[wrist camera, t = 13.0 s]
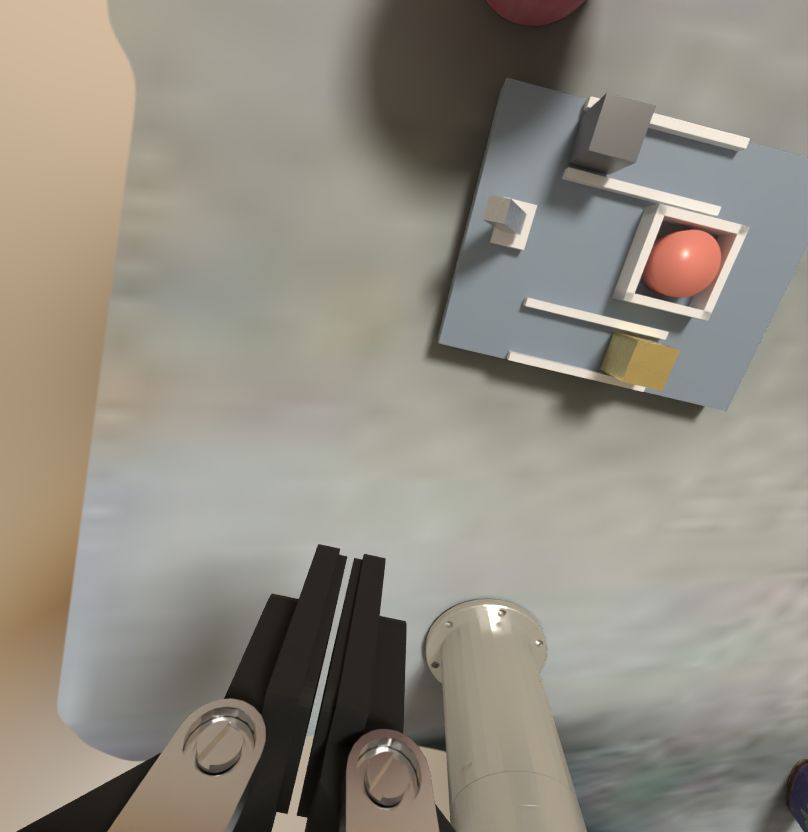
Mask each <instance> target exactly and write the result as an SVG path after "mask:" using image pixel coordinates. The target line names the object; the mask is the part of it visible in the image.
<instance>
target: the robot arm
mask: <svg viewBox="0 0 808 832" xmlns="http://www.w3.org/2000/svg"><path fill="white" fill-rule="evenodd" d="M339 553H340V549H339V548H334V547H330V546H325V545H320V544H318V547H317V549H316V552H315V555H314V558H313V561H312V563H311V566H310V569H309V572H308V575H307V578H306V580H305V583H304V586H303V589H302V592H301V594H300V597H299V599H295V598H290V597H286V596H281V595H276V594H271V596H270V597H269V599H268V601H267V603H266V606H265V608H264V610H263V612H262V615H261V617H260V619H259V621H258V624H257V626H256V628H255V630H254V633H253V635H252V637H251V639H250V642H249V644H248V646H247V648H246V651H245V653H244V655H243V657H242V660H241V662H240V664H239V666H238V669H237V671H236V673H235V676H234V678H233V680H232V682H231V685H230V687H229V689H228V691H227V694H226V696H225V698H224V699H221V700H215V701H213V702H210V703H207V704H205V705H203V706H201V707H200V708H198V709H197V710H195V711H194V712H192V713H191V714H190V715H189V716H188V717H187V719H186V720H185V721H184V722H183V723H182V724H181V725H180V727H179V728H178V730H177V731H176V733H175V734H174V736H173V737H172V738H171V740H170V741H169V743H168V744H167V746H166V747H165V749H164V750H163V752H161V753H160V754H158V755H156V756H154V757H152V758H151V759H149V760H147V761H145V762H143V763H141V764H140V765H138V766H136V767H134V768H132V769H131V770H129V771H127V772H125V773H123V774H121V775H120V776H118V777H116V778H114V779H112V780H110V781H109V782H107V783H105V784H103V785H101V786H99V787H97V788H96V789H94V790H92V791H90V792H88V793H87V794H85V795H83V796H81V797H79V798H77V799H75V800H74V801H72V802H70V803H68V804H66V805H64V806H63V807H61V808H59V809H57V810H55V811H53V812H52V813H50V814H48V815H46V816H44V817H43V818H41V819H39V820H37V821H35V822H33V823H31V824H30V825H28V826H26V827H24V828H22V829H20V830H19V831H17V832H271V831H272V827H273V823H274V820H275V816H276V812H280V813H285V814H287V813H288V809H289V805H290V801H291V797H292V793H293V788H294V784H295V780H296V776H297V771H298V767H299V763H300V759H301V755H302V750H303V746H304V742H305V738H306V734H307V729H308V725H309V721H310V717H311V712H312V708H313V704H314V700H315V696H316V691H317V687H318V683H319V679H320V674H321V670H322V666H323V662H324V658H325V653H326V649H327V645H328V640H329V636H330V631H331V627H332V622H333V618H334V614H335V609H336V605H337V600H338V596H339V591H340V587H341V582H342V578H343V574H344V569H345V565H346V560H347V556H342V555H339ZM385 560H386V559H385V558H381V557H377V556H372V555H367V554H364V556H363V560H361V559H356V558H354V561H353V566H352V570H351V574H350V578H349V583H348V587H347V591H346V596H345V600H344V604H343V609H342V613H341V617H340V622H339V626H338V630H337V635H336V639H335V643H334V648H333V652H332V657H331V661H330V666H329V670H328V675H327V680H326V684H325V689H324V693H323V698H322V702H321V707H320V711H319V716H318V721H317V725H316V730H315V734H314V739H313V744H312V748H311V752H310V757H309V762H308V766H307V771H306V775H305V780H304V785H303V789H302V794H301V798H300V803H299V807H298V812H297V816H302V817H307V823H306V829H305V832H587V830H586V827H585V824H584V820H583V817H582V814H581V810H580V807H579V804H578V801H577V797H576V793H575V790H574V787H573V783H572V780H571V776H570V773H569V770H568V766H567V763H566V760H565V756H564V753H563V750H562V746H561V743H560V740H559V736H558V733H557V730H556V726H555V723H554V719H553V716H552V713H551V709H550V706H549V703H548V699H547V696H546V693H545V689H544V686H543V683H542V679H541V676H540V672H541V670H542V668H543V667H544V664H545V661H546V658H547V644H546V639H545V636H544V633H543V630H542V628H541V626H540V625H539V623H538V622H537V620H536V619H535V618H534V617H533V616H532V615H531V614H530V613H529V612H527V611H526V610H524V609H523V608H521V607H519V606H517V605H515V604H513V603H510V602H506V601H502V600H495V599H479V600H473V601H468V602H464V603H462V604H459V605H457V606H454V607H453V608H451V609H449V610H448V611H446V612H444V613H443V614H442V615H441V616H440V617H439V618H438V619H437V620H436V621H435V623H434V624H433V625H432V627H431V629H430V631H429V633H428V635H427V640H426V659H427V664H428V666H429V668H430V671H431V673H432V674H433V675H434V677H435V678H436V679H437V680H438V681H439V682H440V683H441V684H442V685H443V702H444V720H445V726H444V729H445V737H446V754H447V771H448V786H449V787H448V788H449V806H450V823H449V821H448V820H447V819H446V818H445V816H444V815H443V814H442V812H441V811H440V810H439V808H438V807H437V806H436V804H435V801H434V795H433V788H432V782H431V775H430V771H429V767H428V764H427V760H426V758H425V756H424V755H423V753H422V751H421V750H420V748H419V746H418V745H416V744H415V743H414V742H413V741H412V740H411V739H410V738H409V737H408V736H406V735H404V734H403V724H404V692H405V660H406V621H402V620H397V619H392V618H387V617H382V616H379V615H380V606H381V597H382V588H383V579H384V570H385Z"/></svg>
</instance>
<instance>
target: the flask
mask: <svg viewBox="0 0 808 832" xmlns="http://www.w3.org/2000/svg"><path fill="white" fill-rule="evenodd" d="M787 806H788V809H789V810H790V812H791V814H792V815H793V817H794V818H795V819H796V821H797V822H798V824H799V825H800V827H801V828H802V830H803V831H804V832H808V759H803V760H801V761H799V762H798V763H797V764H796V765H795V766H794V768H793V770H792V773H791V775H790V778H789V780H788V790H787Z"/></svg>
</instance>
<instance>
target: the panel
mask: <svg viewBox="0 0 808 832" xmlns="http://www.w3.org/2000/svg"><path fill="white" fill-rule="evenodd" d="M599 100H600V99H599V98H595V97H592V96H590V97H589V98H588V99H586V98H582V97H579V96H575V95H571V94H567V93H564V92H560V91H556V90H552V89H548V88H545V87H541V86H537V85H533V84H530V83H526V82H522V81H518V80H515V79H511V78H506V80H505V83H504V85H503V87H502V89H501V91H500V95H499V99H498V102H497V106H496V110H495V114H494V118H493V122H492V126H491V130H490V134H489V138H488V142H487V146H486V150H485V154H484V157H483V161H482V165H481V169H480V173H479V177H478V181H477V185H476V189H475V193H474V197H473V201H472V205H471V208H470V212H469V216H468V220H467V224H466V228H465V232H464V236H463V240H462V244H461V248H460V252H459V256H458V260H457V263H456V267H455V271H454V275H453V279H452V283H451V287H450V291H449V295H448V299H447V303H446V307H445V311H444V315H443V318H442V322H441V326H440V330H439V334H438V342H439V343H440V344H444V345H448V346H452V347H457V348H461V349H465V350H469V351H474V352H478V353H482V354H486V355H491V356H495V357H499V358H503V359H507V360H510V361H515V362H519V363H523V364H527V365H531V366H536V367H540V368H544V369H548V370H553V371H557V372H561V373H565V374H570V375H574V376H578V377H582V378H587V379H591V380H595V381H599V382H603V383H608V384H612V385H616V386H620V387H625V388H629V389H633V390H637V391H642V392H647V393H651V394H656V395H660V396H664V397H668V398H672V399H677V400H681V401H685V402H689V403H694V404H698V405H702V406H706V407H711V408H715V409H719V410H723V411H727V409H728V407H729V405H730V403H731V401H732V399H733V397H734V395H735V393H736V391H737V389H738V387H739V385H740V383H741V381H742V379H743V377H744V375H745V372H746V370H747V368H748V366H749V364H750V362H751V360H752V358H753V356H754V354H755V352H756V350H757V348H758V346H759V344H760V342H761V340H762V338H763V336H764V334H765V332H766V330H767V328H768V326H769V324H770V321H771V319H772V317H773V315H774V313H775V311H776V309H777V307H778V305H779V303H780V301H781V299H782V297H783V295H784V293H785V291H786V289H787V287H788V285H789V283H790V281H791V279H792V277H793V275H794V273H795V270H796V268H797V266H798V264H799V262H800V260H801V258H802V256H803V254H804V252H805V250H806V248H807V246H808V157H805V156H801V155H797V154H793V153H789V152H786V151H782V150H778V149H774V148H771V147H767V146H763V145H759V144H756V143H752V142H749V140H750V138H746V137H742V136H738V135H735V134H731V133H727V132H723V131H720V130H716V129H712V128H708V127H705V126H701V125H697V124H693V123H689V122H686V121H682V120H678V119H674V118H671V117H667V116H663V115H659V114H656V113H653V116H652V119H651V121H650V124H649V127H648V130H647V133H646V136H645V138H644V141H643V144H642V147H641V150H640V152H639V155H638V158H637V161H636V163H634V164H632V165H630V166H627V167H625V168H623V169H621V170H619V171H616V172H614V173H612V174H610V175H608V174H605V173H601V172H597V171H593V170H589V169H585V168H581V167H578V166H574V165H570V164H568V161H569V158H570V155H571V152H572V148H573V145H574V142H575V139H576V136H577V132H578V129H579V126H580V123H581V119H582V116H583V114H584V113H585V112H586V111H587V110H588V109H590V108H591V107H592V106H593V105H594V104H595V103H596V102H597V101H599ZM489 195H491V196H497V197H503V198H509V199H512V200H513V201H514V202H515V203H516V204H517V205H518V206H519V207H520V208H521V209H522V210H523V211H524V212H525V213H526V214H527V215H526V218H525V222H524V225H523V228H522V232H521V235H516V234H511V233H506V232H501V231H500V230H498V229H496V228H495V227H493V226H492V225H490V224H489V223H487V222H486V221H484V220H483V216H484V213H485V209H486V205H487V201H488V198H489ZM686 230H701V231H704V232H706V233H708V234H710V235H711V236H712V237H713V238H714V239H715V240H716V241H717V243H718V245H719V248H720V252H721V263H720V267H719V270H718V273H717V274H716V276H715V278H714V279H713V281H712V282H711V283H710V284H709V285H708V286H707V287H706V288H705V289H704V290H702V291H701V292H699V293H697V294H695V295H693V296H689V297H683V298H681V297H671V296H664V295H659V294H656V293H654V292H652V291H651V290H649V289H648V288H647V286H646V285H645V284H644V282H643V279H642V276H641V275H642V273H643V270H644V267H645V265H646V262H647V260H648V257H649V254H650V252H651V249H652V247H653V244H654V241H655V240H656V239H658V238H659V237H661V236H663V235H665V234H667V233H671V232H678V231H686ZM614 331H615V332H619V333H623V334H627V335H631V336H635V337H640V338H644V339H648V340H652V341H655V342H658V343H661V344H664V345H667V346H670V347H673V348H676V349H679V350H680V352H679V354H678V356H677V359H676V361H675V363H674V366H673V368H672V370H671V373H670V375H669V377H668V379H667V382H666V384H665V386H664V389H663V391H659V390H655V389H651V388H647V387H643V386H638V385H634V384H630V383H626V382H622V381H620V380H618V379H617V378H615V377H613V376H611V375H610V374H608V373H606V372H605V371H603V370H601V369H600V368H601V365H602V363H603V360H604V357H605V355H606V352H607V349H608V347H609V344H610V342H611V339H612V336H613V334H614Z"/></svg>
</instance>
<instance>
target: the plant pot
mask: <svg viewBox="0 0 808 832" xmlns="http://www.w3.org/2000/svg"><path fill="white" fill-rule="evenodd" d="M585 1H586V0H486V2H487V3H488V4H489V5H490V7H491V8H492V9H493V10H494V11H495V12H497V13H498V14H499V15H501V16H502V17H503V18H505V19H507V20H509V21H511V22H514V23H517V24H520V25H526V26H541V25H545V24H549V23H552V22H555V21H558V20H560V19H562V18H564V17H565V16H567V15H569V14H570V13H571V12H573V11H574V10H575V9H576V8H578V7H579V6H580V5H581V4H582V3H583V2H585Z"/></svg>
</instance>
